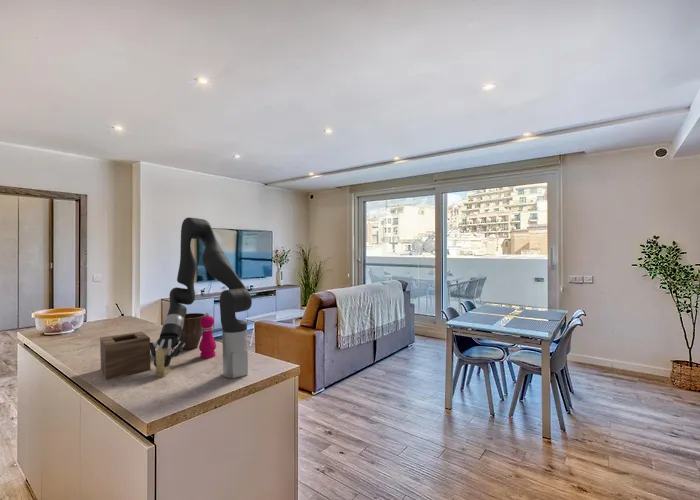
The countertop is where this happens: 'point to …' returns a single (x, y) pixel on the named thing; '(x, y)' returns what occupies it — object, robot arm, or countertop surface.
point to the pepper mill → (207, 337)
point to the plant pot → (191, 330)
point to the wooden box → (125, 354)
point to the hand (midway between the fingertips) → (161, 366)
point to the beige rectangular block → (161, 362)
